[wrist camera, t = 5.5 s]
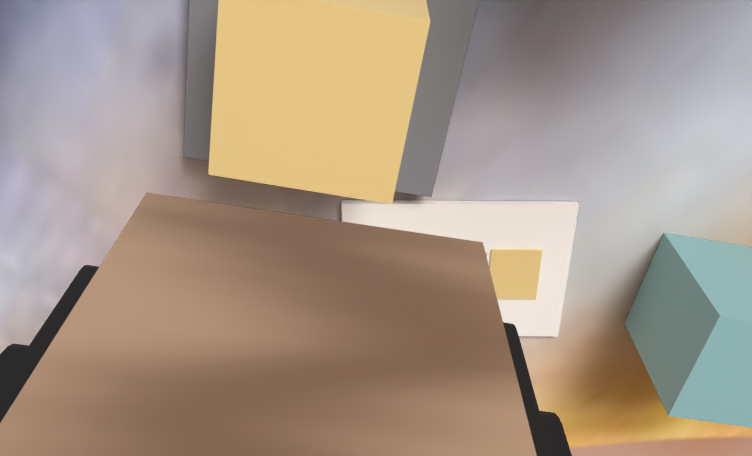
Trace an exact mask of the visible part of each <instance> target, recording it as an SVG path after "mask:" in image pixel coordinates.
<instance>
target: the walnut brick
mask: <svg viewBox="0 0 752 456" xmlns="http://www.w3.org/2000/svg"><path fill="white" fill-rule="evenodd" d="M0 456H537V455H536V451H535V447H534V443H533V439H532V435H531V431H530V427H529V423H528V419H527V415H526V411H525V407H524V403H523V399H522V395H521V391H520V387H519V383H518V380H517V376H516V372H515V368H514V364H513V360H512V356H511V352H510V348H509V344H508V340H507V336H506V332H505V328H504V324H503V320H502V316H501V312H500V308H499V304H498V300H497V296H496V292H495V289H494V285H493V281H492V277H491V273H490V269H489V265H488V261H487V257H486V253H485V249H484V245H483V242H478V241H471V240H464V239H457V238H450V237H444V236H437V235H430V234H423V233H417V232H410V231H403V230H396V229H389V228H383V227H376V226H369V225H362V224H356V223H349V222H342V221H335V220H328V219H322V218H315V217H308V216H301V215H294V214H288V213H281V212H274V211H267V210H261V209H254V208H247V207H240V206H233V205H227V204H220V203H213V202H206V201H200V200H193V199H186V198H179V197H172V196H166V195H159V194H152V193H146V194H145V196H144V197H143V199H142V201H141V202H140V204H139V205H138V207H137V208H136V210H135V212H134V213H133V215H132V216H131V218H130V219H129V221H128V223H127V224H126V226H125V227H124V229H123V230H122V232H121V234H120V235H119V237H118V238H117V240H116V242H115V243H114V245H113V246H112V248H111V249H110V251H109V253H108V254H107V256H106V257H105V259H104V260H103V262H102V264H101V265H100V267H99V268H98V270H97V271H96V273H95V275H94V276H93V278H92V279H91V281H90V282H89V284H88V286H87V287H86V289H85V290H84V292H83V294H82V295H81V297H80V298H79V300H78V301H77V303H76V305H75V306H74V308H73V309H72V311H71V312H70V314H69V316H68V317H67V319H66V320H65V322H64V323H63V325H62V327H61V328H60V330H59V331H58V333H57V334H56V336H55V338H54V339H53V341H52V342H51V344H50V346H49V347H48V349H47V350H46V352H45V353H44V355H43V357H42V358H41V360H40V361H39V363H38V364H37V366H36V368H35V369H34V371H33V372H32V374H31V375H30V377H29V379H28V380H27V382H26V383H25V385H24V386H23V388H22V390H21V391H20V393H19V394H18V396H17V398H16V399H15V401H14V402H13V404H12V405H11V407H10V409H9V410H8V412H7V413H6V415H5V416H4V418H3V420H2V421H1V423H0Z"/></svg>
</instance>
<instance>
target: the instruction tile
mask: <svg viewBox="0 0 752 456" xmlns="http://www.w3.org/2000/svg"><path fill="white" fill-rule="evenodd" d="M578 208H579V204H578V202H567V201H393V202H392V204H387V203H381V202H375V201H368V200H342V202H341V209H342V222H349V223H356V224H362V225H369V226H376V227H383V228H389V229H396V230H403V231H410V232H417V233H423V234H430V235H437V236H444V237H450V238H457V239H464V240H471V241H478V242H483V245H484V249H485V253H486V257H487V261H488V265H489V269H490V273H491V277H492V281H493V285H494V289H495V292H496V296H497V300H498V304H499V308H500V312H501V316H502V320H503V322H504V323H511V324H514V325H515V327H516V329H517V332H518V336H558V333H559V327H560V321H561V314H562V308H563V302H564V296H565V289H566V283H567V277H568V271H569V265H570V258H571V252H572V246H573V240H574V233H575V227H576V221H577V215H578Z"/></svg>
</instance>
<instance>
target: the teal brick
mask: <svg viewBox="0 0 752 456" xmlns="http://www.w3.org/2000/svg"><path fill="white" fill-rule="evenodd" d="M625 325H626V328H627V330H628V332H629V334H630V336H631V338H632V340H633V342H634V344H635V347H636V349H637V351H638V353H639V355H640V357H641V359H642V361H643V363H644V366H645V368H646V370H647V372H648V374H649V376H650V378H651V380H652V383H653V385H654V387H655V389H656V391H657V393H658V395H659V397H660V399H661V402H662V404H663V406H664V408H665V410H666V412H667V414H668V416H673V417H680V418H687V419H694V420H701V421H708V422H715V423H722V424H729V425H736V426H744V427H751V428H752V247H749V246H743V245H736V244H730V243H724V242H718V241H712V240H705V239H699V238H693V237H687V236H681V235H674V234H668V233H664V234H663V236H662V239H661V241H660V243H659V245H658V248H657V250H656V252H655V255H654V257H653V259H652V261H651V264H650V266H649V268H648V271H647V273H646V275H645V277H644V280H643V282H642V284H641V287H640V289H639V291H638V293H637V296H636V298H635V300H634V303H633V305H632V307H631V309H630V312H629V314H628V316H627V319H626V321H625Z"/></svg>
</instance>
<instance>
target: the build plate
mask: <svg viewBox="0 0 752 456" xmlns="http://www.w3.org/2000/svg"><path fill="white" fill-rule="evenodd" d="M478 1H479V0H189V24H188V50H187V76H186V101H185V127H184V153H183V157H188V158H194V159H200V160H206V161H209V170H208V175H214V176H220V177H226V178H232V179H239V180H245V181H251V182H257V183H263V184H270V185H276V186H282V187H288V188H294V189H300V190H307V191H313V192H319V193H325V194H331V195H337V196H344V197H350V198H356V199H362V200H368V201H375V202H381V203H387V204H392V202H393V197H394V193H395V191H396V192H402V193H408V194H414V195H421V196H427V197H432V192H433V188H434V184H435V180H436V176H437V172H438V167H439V163H440V159H441V155H442V151H443V147H444V142H445V138H446V134H447V130H448V126H449V122H450V117H451V113H452V109H453V105H454V101H455V97H456V92H457V88H458V84H459V80H460V76H461V72H462V67H463V63H464V59H465V55H466V51H467V47H468V42H469V38H470V34H471V30H472V26H473V22H474V17H475V13H476V9H477V5H478Z"/></svg>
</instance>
